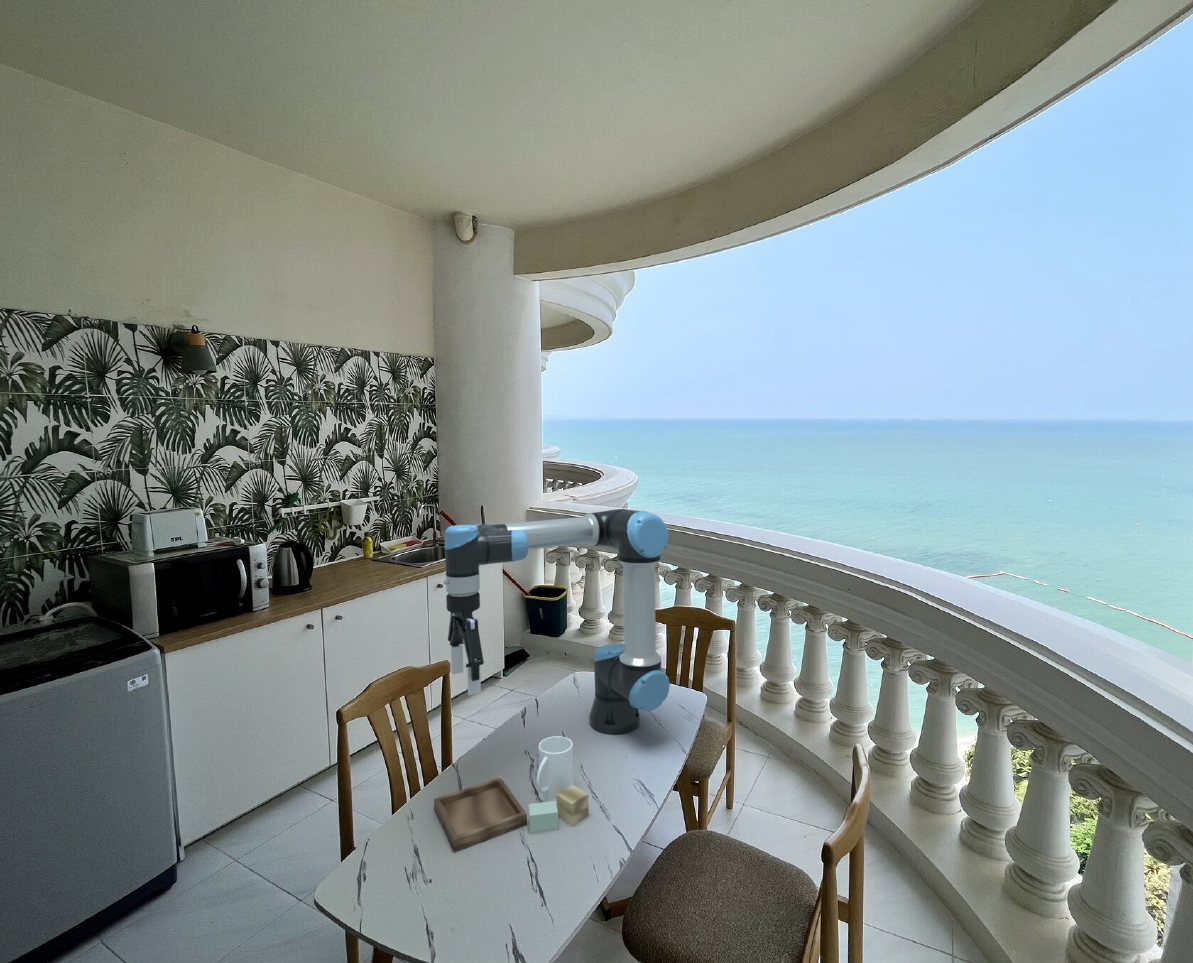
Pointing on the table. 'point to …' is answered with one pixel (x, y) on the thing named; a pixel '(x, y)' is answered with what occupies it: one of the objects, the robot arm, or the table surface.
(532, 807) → the sage block
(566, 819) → the oak block
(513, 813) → the tray
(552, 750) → the mug
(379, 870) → the table surface
